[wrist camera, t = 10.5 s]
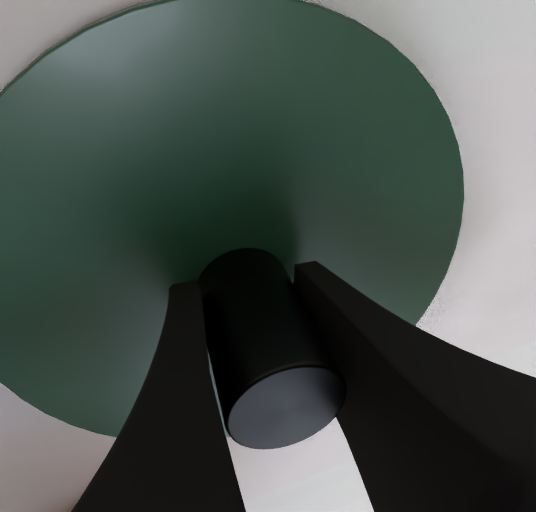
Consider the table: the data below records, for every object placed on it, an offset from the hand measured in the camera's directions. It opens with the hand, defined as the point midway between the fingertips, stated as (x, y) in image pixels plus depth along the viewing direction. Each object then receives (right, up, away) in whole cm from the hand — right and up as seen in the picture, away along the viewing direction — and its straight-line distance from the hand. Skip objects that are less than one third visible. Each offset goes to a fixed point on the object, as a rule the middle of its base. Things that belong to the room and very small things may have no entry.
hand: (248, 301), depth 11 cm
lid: (0, +1, +1) cm, 1 cm away
